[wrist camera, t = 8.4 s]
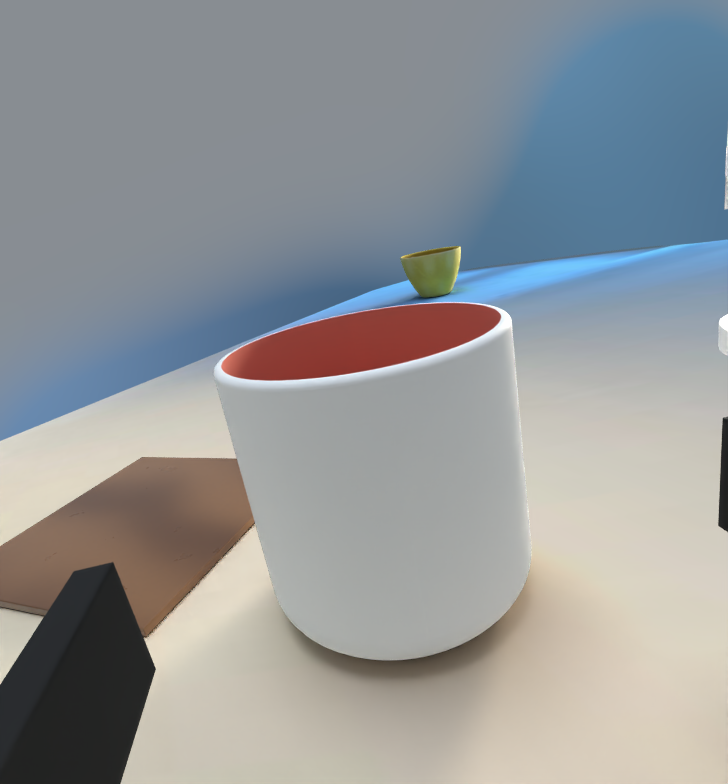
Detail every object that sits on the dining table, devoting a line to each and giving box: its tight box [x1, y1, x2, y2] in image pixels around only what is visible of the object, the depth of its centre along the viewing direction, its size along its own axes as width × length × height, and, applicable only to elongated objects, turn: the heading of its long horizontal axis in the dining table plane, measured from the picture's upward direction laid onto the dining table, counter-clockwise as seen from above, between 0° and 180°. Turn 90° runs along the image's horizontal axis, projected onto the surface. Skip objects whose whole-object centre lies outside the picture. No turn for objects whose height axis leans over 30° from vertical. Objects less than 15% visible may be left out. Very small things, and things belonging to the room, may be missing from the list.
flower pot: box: [400, 246, 461, 297], centre depth 86 cm, size 10×10×7 cm
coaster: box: [0, 457, 255, 636], centre depth 29 cm, size 14×14×1 cm
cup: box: [214, 302, 532, 661], centre depth 19 cm, size 10×10×10 cm
